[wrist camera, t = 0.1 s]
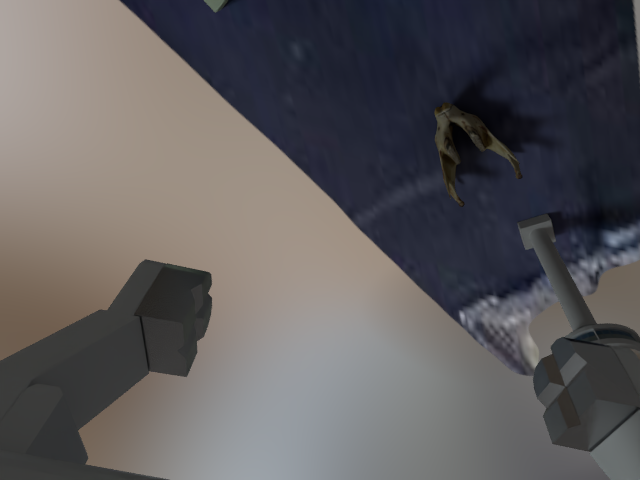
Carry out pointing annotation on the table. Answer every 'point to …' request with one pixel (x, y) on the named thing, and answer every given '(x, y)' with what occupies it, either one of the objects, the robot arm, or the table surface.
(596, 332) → the model tower
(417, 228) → the table surface
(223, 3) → the putting board
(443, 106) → the jawbone
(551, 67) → the table surface
